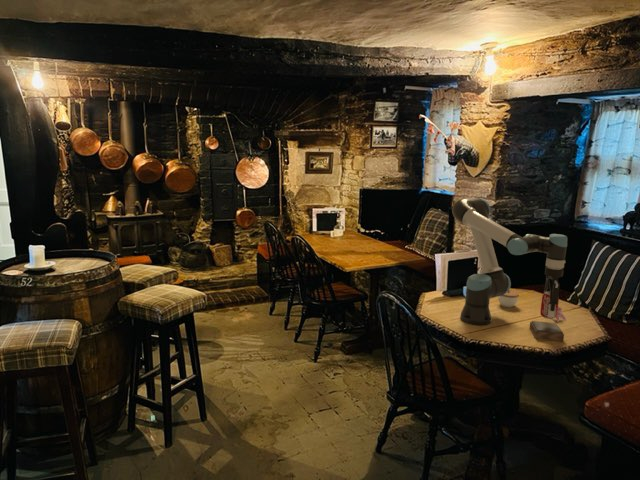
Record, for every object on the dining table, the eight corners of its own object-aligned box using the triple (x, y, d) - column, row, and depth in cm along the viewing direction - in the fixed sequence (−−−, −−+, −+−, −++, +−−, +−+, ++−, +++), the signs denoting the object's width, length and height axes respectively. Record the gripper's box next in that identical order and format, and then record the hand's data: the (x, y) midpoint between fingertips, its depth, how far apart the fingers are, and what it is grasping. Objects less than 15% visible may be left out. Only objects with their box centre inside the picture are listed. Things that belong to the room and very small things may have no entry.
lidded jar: (499, 301, 255) (501, 285, 253) (519, 305, 249) (521, 289, 247) (494, 306, 247) (496, 290, 245) (514, 310, 241) (516, 294, 239)
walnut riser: (535, 338, 205) (536, 329, 204) (529, 328, 216) (530, 320, 216) (563, 341, 202) (564, 332, 201) (555, 331, 214) (556, 322, 213)
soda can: (558, 320, 203) (561, 296, 201) (542, 319, 205) (545, 294, 202) (553, 314, 210) (556, 291, 208) (538, 313, 212) (540, 290, 209)
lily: (544, 324, 225) (556, 311, 220) (534, 308, 235) (545, 295, 230) (562, 329, 228) (575, 317, 223) (552, 313, 238) (563, 301, 233)
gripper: (570, 274, 192) (563, 322, 197) (557, 262, 211) (551, 307, 216) (551, 272, 194) (545, 321, 198) (540, 261, 213) (534, 305, 218)
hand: (548, 313), depth 207 cm, fingers closed on soda can, 7 cm apart
